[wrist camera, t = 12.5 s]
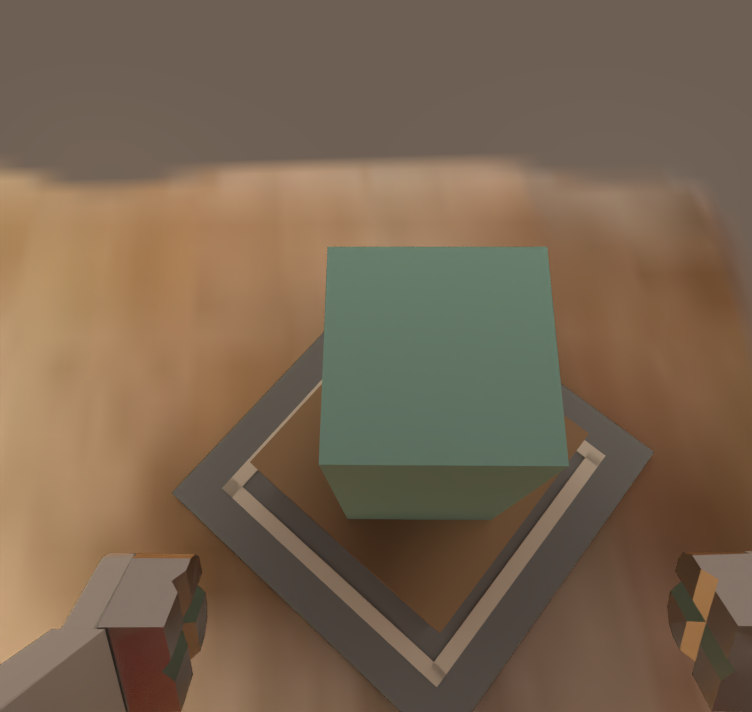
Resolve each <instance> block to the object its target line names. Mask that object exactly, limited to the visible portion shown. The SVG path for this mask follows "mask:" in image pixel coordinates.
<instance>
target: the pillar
mask: <svg viewBox="0 0 752 712" xmlns="http://www.w3.org/2000/svg"><path fill="white" fill-rule="evenodd" d="M319 466H320V468H321V470H322V472H323V474H324V476H325V478H326V479H327V481H328V483H329V485H330V487H331V489H332V491H333V493H334V495H335V497H336V498H337V500H338V502H339V504H340V506H341V508H342V510H343V512H344V514H345V515H346V517H347V519H402V520H492V519H493V518H495V517H496V516H498V515H499V514H501V513H502V512H503V511H505V510H506V509H508V508H509V507H511V506H512V505H514V504H515V503H516V502H518V501H519V500H521V499H522V498H524V497H525V496H527V495H528V494H529V493H531V492H532V491H534V490H535V489H537V488H538V487H540V486H541V485H543V484H544V483H545V482H547V481H548V480H550V479H551V478H553V477H554V476H556V475H557V474H558V473H560V472H561V471H563V470H564V469H566V468H567V467H569V461H568V451H567V441H566V431H565V421H564V411H563V401H562V391H561V381H560V371H559V360H558V350H557V340H556V330H555V320H554V310H553V300H552V290H551V280H550V270H549V260H548V250H547V247H328V251H327V275H326V299H325V324H324V348H323V372H322V396H321V421H320V445H319Z"/></svg>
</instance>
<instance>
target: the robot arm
mask: <svg viewBox="0 0 752 712" xmlns="http://www.w3.org/2000/svg"><path fill="white" fill-rule="evenodd" d="M675 571H676V573H677V574H678V576H679V578H680V580H681V582H680V583H679V584H678V585H677V586H676V587H674V588H673V589H672V590H671V591H670V596H669V601H668V606H667V607H668V618H669V625H670V628H671V632H672V635H673V637H674V639H675V642H676V644H677V646H678V648H679V650H680V651H682V652H683V653H684V654H686V655H687V656H688V657H690V658H691V659H692V660H694V661H695V664H694V668H693V672H692V675H693V677H694V679H695V681H696V682H697V684H698V686H699V688H700V690H701V692H702V694H703V696H704V698H705V700H706V701H707V703H708V705H709V707H710V709H711V711H713V712H752V551H744V552H683V554H682V555H681V556H680V558H679V559H678V563H677V566H676V570H675ZM201 574H202V569H201V564H200V559H199V557H198V556H197V555H195V554H162V553H138V554H130V553H108V554H107V555H105V556H104V557H103V558H102V559H101V560H100V562H99V563H98V565H97V567H96V569H95V570H94V572H93V574H92V576H91V577H90V579H89V581H88V582H87V584H86V586H85V588H84V589H83V591H82V593H81V595H80V596H79V598H78V600H77V602H76V603H75V605H74V607H73V608H72V610H71V612H70V614H69V615H68V617H67V619H66V621H65V622H64V624H63V626H62V627H61V629H51V630H50V631H48V632H47V633H45V634H44V635H42V636H41V637H40V638H38V639H37V640H35V641H34V642H32V643H31V644H29V645H28V646H27V647H25V648H24V649H22V650H21V651H19V652H18V653H17V654H15V655H14V656H12V657H11V658H9V659H8V660H6V661H5V662H4V663H2V664H1V665H0V712H181V710H182V707H183V704H184V701H185V698H186V695H187V691H188V688H189V685H190V682H191V679H192V676H193V672H192V667H191V661H190V660H191V659H192V658H193V657H194V656H195V655H196V654H197V653H198V652H199V651H200V650H201V647H202V643H203V640H204V636H205V630H206V623H207V600H206V593H205V592H204V591H203V590H202V589H201V588H200V587H199V586H198V583H199V580H200V577H201Z"/></svg>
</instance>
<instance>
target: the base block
mask: <svg viewBox="0 0 752 712" xmlns="http://www.w3.org/2000/svg"><path fill="white" fill-rule="evenodd" d="M321 396H322V384H321V385H320V386H319V387H318V389H317V390H316V391H315V392H314V393H313V394H312V395H311V396H310V397H309V398H308V399H307V401H306V402H305V403H304V404H303V405H302V406H301V407H300V408H299V409H298V410H297V411H296V413H295V414H294V415H293V416H292V417H291V418H290V419H289V420H288V421H287V422H286V423H285V424H284V426H283V427H282V428H281V429H280V430H279V431H278V432H277V433H276V434H275V435H274V436H273V438H272V439H271V440H270V441H269V442H268V443H267V444H266V445H265V446H264V447H263V448H262V449H261V451H260V452H259V453H258V454H257V455H256V456H255V457H254V458H253V459H252V460H251V461H250V463H251V464H252V465H253V466H254V467H255V468H257V469H258V470H259V471H260V472H261V473H262V474H263V475H264V476H265V477H266V478H267V479H268V480H269V481H270V482H271V483H272V484H273V485H274V486H275V487H277V488H278V489H279V490H280V491H281V492H282V493H283V494H284V495H285V496H287V497H288V498H289V499H290V500H291V501H292V502H293V503H294V504H295V505H297V506H298V507H299V508H300V509H301V510H302V511H303V512H304V513H305V514H307V515H308V516H309V517H310V518H311V519H312V520H313V521H314V522H315V523H317V524H318V525H319V526H320V527H321V528H322V529H323V530H324V531H325V532H327V533H328V534H329V535H330V536H331V537H332V538H333V539H334V540H335V541H337V542H338V543H339V544H340V545H341V546H342V547H343V548H344V549H346V550H347V551H348V552H349V553H350V554H351V555H352V556H353V557H354V558H356V559H357V560H358V561H359V562H360V563H361V564H362V565H363V566H364V567H366V568H367V569H368V570H369V571H370V572H371V573H372V574H373V575H374V576H376V577H377V578H378V579H379V580H380V581H381V582H382V583H383V584H384V585H386V586H387V587H388V588H389V589H390V590H391V591H392V592H393V593H394V594H396V595H397V596H398V597H399V598H400V599H401V600H402V601H403V602H404V603H406V604H407V605H408V606H409V607H410V608H411V609H412V610H413V611H414V612H416V613H417V614H418V615H419V616H420V617H421V618H422V619H423V620H424V621H426V622H427V623H428V624H429V625H430V626H431V627H433V628H434V629H435V630H437V631H438V632H439V633H441V631H442V630H443V629H444V627H445V626H446V625H447V623H448V622H449V621H450V619H451V618H452V617H453V615H454V614H455V613H456V611H457V610H458V609H459V607H460V606H461V605H462V603H463V602H464V601H465V599H466V598H467V597H468V595H469V594H470V593H471V591H472V590H473V589H474V587H475V586H476V585H477V583H478V582H479V580H480V579H481V578H482V576H483V575H484V574H485V572H486V571H487V570H488V568H489V567H490V566H491V564H492V563H493V562H494V560H495V559H496V558H497V556H498V555H499V554H500V552H501V551H502V550H503V548H504V547H505V546H506V544H507V543H508V542H509V540H510V539H511V538H512V536H513V535H514V534H515V532H516V531H517V530H518V528H519V527H520V526H521V524H522V523H523V522H524V520H525V519H526V518H527V516H528V515H529V514H530V512H531V511H532V510H533V508H534V507H535V506H536V504H537V503H538V502H539V500H540V499H541V497H542V496H543V495H544V493H545V492H546V491H547V489H548V488H549V487H550V485H551V484H552V483H553V481H554V480H555V479H556V477H557V476H558V475H559V473H558V474H557V475H556V476H554V477H553V478H551V479H550V480H548V481H547V482H545V483H544V484H543V485H541V486H540V487H538V488H537V489H535V490H534V491H532V492H531V493H529V494H528V495H527V496H525V497H524V498H522V499H521V500H519V501H518V502H516V503H515V504H514V505H512V506H511V507H509V508H508V509H506V510H505V511H503V512H502V513H501V514H499V515H498V516H496V517H495V518H493V519H492V520H402V519H347V517H346V515H345V514H344V512H343V510H342V508H341V506H340V504H339V502H338V500H337V498H336V497H335V495H334V493H333V491H332V489H331V487H330V485H329V483H328V481H327V479H326V478H325V476H324V474H323V472H322V470H321V468H320V466H319V445H320V421H321ZM564 421H565V431H566V441H567V451H568V461H569V460H570V459H571V457H572V456H573V455H574V453H575V452H576V451H577V449H578V448H579V447H580V445H581V444H582V443H583V441H584V440H585V439H586V437H587V436H588V435H589V433H588V432H586V431H585V430H584V429H582V428H581V427H580V426H578V425H577V424H576V423H574V422H573V421H572V420H570V419H569V418H568V417H566V416H565V415H564Z"/></svg>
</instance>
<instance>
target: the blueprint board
mask: <svg viewBox="0 0 752 712" xmlns="http://www.w3.org/2000/svg"><path fill="white" fill-rule="evenodd" d="M323 348H324V332H323V333H322V335H321V336H320V337H319V338H318V339H317V340H316V341H315V342H314V343H313V344H312V345H311V346H310V347H309V348H308V349H307V350H306V351H305V353H304V354H303V355H302V356H301V357H300V358H299V359H298V360H297V361H296V362H295V363H294V364H293V365H292V366H291V367H290V368H289V369H288V370H287V372H286V373H285V374H284V375H283V376H282V377H281V378H280V379H279V380H278V381H277V382H276V383H275V384H274V385H273V386H272V387H271V388H270V390H269V391H268V392H267V393H266V394H265V395H264V396H263V397H262V398H261V399H260V400H259V401H258V402H257V403H256V404H255V405H254V406H253V407H252V409H251V410H250V411H249V412H248V413H247V414H246V415H245V416H244V417H243V418H242V419H241V420H240V421H239V422H238V423H237V424H236V425H235V427H234V428H233V429H232V430H231V431H230V432H229V433H228V434H227V435H226V436H225V437H224V438H223V439H222V440H221V441H220V442H219V443H218V444H217V446H216V447H215V448H214V449H213V450H212V451H211V452H210V453H209V454H208V455H207V456H206V457H205V458H204V459H203V460H202V461H201V462H200V464H199V465H198V466H197V467H196V468H195V469H194V470H193V471H192V472H191V473H190V474H189V475H188V476H187V477H186V478H185V479H184V480H183V481H182V483H181V484H180V485H179V486H178V487H177V488H176V489H175V490H174V491H173V492H172V494H173V495H174V496H175V497H176V498H177V499H179V500H180V501H181V502H182V503H183V504H184V505H185V506H186V507H187V508H188V509H189V510H190V511H191V512H192V513H193V514H194V515H195V516H196V517H197V518H198V519H199V520H201V521H202V522H203V523H204V524H205V525H206V526H207V527H208V528H209V529H210V530H211V531H212V532H213V533H214V534H215V535H216V536H217V537H218V538H219V539H220V540H221V541H222V542H224V543H225V544H226V545H227V546H228V547H229V548H230V549H231V550H232V551H233V552H234V553H235V554H236V555H237V556H238V557H239V558H240V559H241V560H242V561H243V562H244V563H246V564H247V565H248V566H249V567H250V568H251V569H252V570H253V571H254V572H255V573H256V574H257V575H258V576H259V577H260V578H261V579H262V580H263V581H264V582H265V583H266V584H268V585H269V586H270V587H271V588H272V589H273V590H274V591H275V592H276V593H277V594H278V595H279V596H280V597H281V598H282V599H283V600H284V601H285V602H286V603H287V604H288V605H290V606H291V607H292V608H293V609H294V610H295V611H296V612H297V613H298V614H299V615H300V616H301V617H302V618H303V619H304V620H305V621H306V622H307V623H308V624H309V625H310V626H311V627H313V628H314V629H315V630H316V631H317V632H318V633H319V634H320V635H321V636H322V637H323V638H324V639H325V640H326V641H327V642H328V643H329V644H330V645H331V646H332V647H333V648H335V649H336V650H337V651H338V652H339V653H340V654H341V655H342V656H343V657H344V658H345V659H346V660H347V661H348V662H349V663H350V664H351V665H352V666H353V667H354V668H355V669H357V670H358V671H359V672H360V673H361V674H362V675H363V676H364V677H365V678H366V679H367V680H368V681H369V682H370V683H371V684H372V685H373V686H374V687H375V688H376V689H377V690H379V691H380V692H381V693H382V694H383V695H384V696H385V697H386V698H387V699H388V700H389V701H390V702H391V703H392V704H393V705H394V706H395V707H396V708H397V709H398V710H399V711H400V712H472V711H473V709H474V708H475V706H476V705H477V704H478V702H479V701H480V699H481V698H482V696H483V695H484V694H485V692H486V691H487V689H488V688H489V687H490V685H491V684H492V682H493V681H494V679H495V678H496V677H497V675H498V674H499V672H500V671H501V669H502V668H503V667H504V665H505V664H506V662H507V661H508V660H509V658H510V657H511V655H512V654H513V652H514V651H515V650H516V648H517V647H518V645H519V644H520V642H521V641H522V640H523V638H524V637H525V635H526V634H527V633H528V631H529V630H530V628H531V627H532V625H533V624H534V623H535V621H536V620H537V618H538V617H539V615H540V614H541V613H542V611H543V610H544V608H545V607H546V606H547V604H548V603H549V601H550V600H551V598H552V597H553V596H554V594H555V593H556V591H557V590H558V588H559V587H560V586H561V584H562V583H563V581H564V580H565V579H566V577H567V576H568V574H569V573H570V571H571V570H572V569H573V567H574V566H575V564H576V563H577V561H578V560H579V559H580V557H581V556H582V554H583V553H584V552H585V550H586V549H587V547H588V546H589V544H590V543H591V542H592V540H593V539H594V537H595V536H596V534H597V533H598V532H599V530H600V529H601V527H602V526H603V525H604V523H605V522H606V520H607V519H608V517H609V516H610V515H611V513H612V512H613V510H614V509H615V508H616V506H617V505H618V503H619V502H620V500H621V499H622V498H623V496H624V495H625V493H626V492H627V490H628V489H629V488H630V486H631V485H632V483H633V482H634V481H635V479H636V478H637V476H638V475H639V473H640V472H641V471H642V469H643V468H644V466H645V465H646V463H647V462H648V461H649V459H650V458H651V456H652V455H653V454H654V452H653V451H652V450H651V449H649V448H648V447H647V446H645V445H644V444H643V443H641V442H640V441H639V440H637V439H636V438H634V437H633V436H632V435H630V434H629V433H628V432H626V431H625V430H624V429H622V428H621V427H619V426H618V425H617V424H615V423H614V422H613V421H611V420H610V419H609V418H607V417H606V416H605V415H603V414H602V413H600V412H599V411H598V410H596V409H595V408H594V407H592V406H591V405H590V404H588V403H587V402H585V401H584V400H583V399H581V398H580V397H579V396H577V395H576V394H575V393H573V392H572V391H571V390H569V389H568V388H566V387H565V386H564V385H562V384H561V391H562V401H563V411H564V415H565V416H566V417H568V418H569V419H570V420H572V421H573V422H574V423H576V424H577V425H578V426H580V427H581V428H582V429H584V430H585V431H586V432H588V433H589V435H588V436H587V437H586V439H585V440H584V441H583V443H582V444H581V445H580V447H579V448H578V449H577V451H576V452H575V453H574V455H573V456H572V457H571V459H570V460H569V467H567V468H566V469H564V470H563V471H561V472H560V473H559V475H558V476H557V477H556V479H555V480H554V481H553V483H552V484H551V485H550V487H549V488H548V489H547V491H546V492H545V493H544V495H543V496H542V497H541V499H540V500H539V502H538V503H537V504H536V506H535V507H534V508H533V510H532V511H531V512H530V514H529V515H528V516H527V518H526V519H525V520H524V522H523V523H522V524H521V526H520V527H519V528H518V530H517V531H516V532H515V534H514V535H513V536H512V538H511V539H510V540H509V542H508V543H507V544H506V546H505V547H504V548H503V550H502V551H501V552H500V554H499V555H498V556H497V558H496V559H495V560H494V562H493V563H492V564H491V566H490V567H489V568H488V570H487V571H486V572H485V574H484V575H483V576H482V578H481V579H480V580H479V582H478V583H477V585H476V586H475V587H474V589H473V590H472V591H471V593H470V594H469V595H468V597H467V598H466V599H465V601H464V602H463V603H462V605H461V606H460V607H459V609H458V610H457V611H456V613H455V614H454V615H453V617H452V618H451V619H450V621H449V622H448V623H447V625H446V626H445V627H444V629H443V630H442V631H441V633H439V632H438V631H437V630H435V629H434V628H433V627H431V626H430V625H429V624H428V623H427V622H426V621H424V620H423V619H422V618H421V617H420V616H419V615H418V614H417V613H416V612H414V611H413V610H412V609H411V608H410V607H409V606H408V605H407V604H406V603H404V602H403V601H402V600H401V599H400V598H399V597H398V596H397V595H396V594H394V593H393V592H392V591H391V590H390V589H389V588H388V587H387V586H386V585H384V584H383V583H382V582H381V581H380V580H379V579H378V578H377V577H376V576H374V575H373V574H372V573H371V572H370V571H369V570H368V569H367V568H366V567H364V566H363V565H362V564H361V563H360V562H359V561H358V560H357V559H356V558H354V557H353V556H352V555H351V554H350V553H349V552H348V551H347V550H346V549H344V548H343V547H342V546H341V545H340V544H339V543H338V542H337V541H335V540H334V539H333V538H332V537H331V536H330V535H329V534H328V533H327V532H325V531H324V530H323V529H322V528H321V527H320V526H319V525H318V524H317V523H315V522H314V521H313V520H312V519H311V518H310V517H309V516H308V515H307V514H305V513H304V512H303V511H302V510H301V509H300V508H299V507H298V506H297V505H295V504H294V503H293V502H292V501H291V500H290V499H289V498H288V497H287V496H285V495H284V494H283V493H282V492H281V491H280V490H279V489H278V488H277V487H275V486H274V485H273V484H272V483H271V482H270V481H269V480H268V479H267V478H266V477H265V476H264V475H263V474H262V473H261V472H260V471H259V470H258V469H257V468H255V467H254V466H253V465H252V464H251V463H250V461H251V460H252V459H253V458H254V457H255V456H256V455H257V454H258V453H259V452H260V451H261V449H262V448H263V447H264V446H265V445H266V444H267V443H268V442H269V441H270V440H271V439H272V438H273V436H274V435H275V434H276V433H277V432H278V431H279V430H280V429H281V428H282V427H283V426H284V424H285V423H286V422H287V421H288V420H289V419H290V418H291V417H292V416H293V415H294V414H295V413H296V411H297V410H298V409H299V408H300V407H301V406H302V405H303V404H304V403H305V402H306V401H307V399H308V398H309V397H310V396H311V395H312V394H313V393H314V392H315V391H316V390H317V389H318V387H319V386H320V385H321V384H322V372H323Z"/></svg>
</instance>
